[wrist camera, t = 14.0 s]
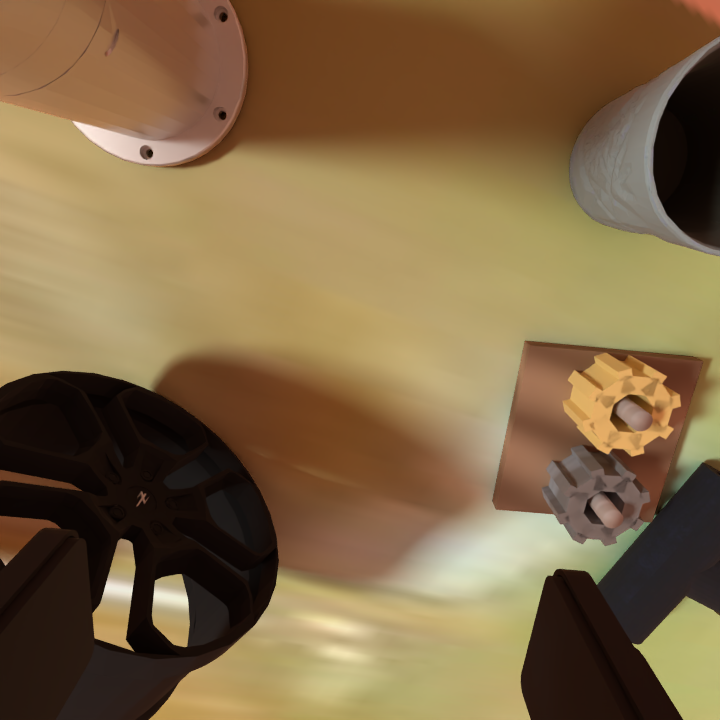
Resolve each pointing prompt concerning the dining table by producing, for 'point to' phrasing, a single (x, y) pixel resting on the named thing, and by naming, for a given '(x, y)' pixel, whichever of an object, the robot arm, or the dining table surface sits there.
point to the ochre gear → (609, 386)
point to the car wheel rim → (140, 523)
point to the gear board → (585, 446)
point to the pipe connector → (670, 559)
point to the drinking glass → (657, 156)
